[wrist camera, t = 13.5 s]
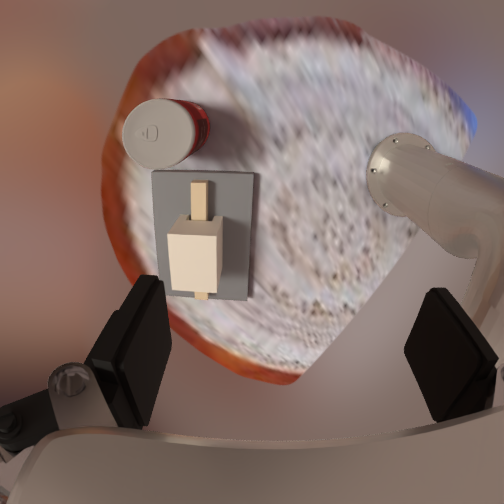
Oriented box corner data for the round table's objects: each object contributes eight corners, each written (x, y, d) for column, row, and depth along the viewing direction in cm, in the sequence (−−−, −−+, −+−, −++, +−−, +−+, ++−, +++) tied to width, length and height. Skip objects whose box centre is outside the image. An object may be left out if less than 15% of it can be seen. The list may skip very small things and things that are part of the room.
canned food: (149, 109, 37) (114, 111, 27) (204, 94, 36) (185, 88, 26) (161, 160, 40) (131, 178, 30) (216, 147, 39) (201, 160, 30)
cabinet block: (222, 216, 42) (216, 236, 36) (222, 271, 46) (216, 298, 40) (180, 214, 42) (167, 233, 36) (183, 269, 46) (172, 294, 40)
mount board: (253, 172, 41) (253, 177, 38) (247, 295, 50) (246, 307, 47) (154, 170, 41) (147, 175, 38) (163, 289, 50) (158, 301, 47)
